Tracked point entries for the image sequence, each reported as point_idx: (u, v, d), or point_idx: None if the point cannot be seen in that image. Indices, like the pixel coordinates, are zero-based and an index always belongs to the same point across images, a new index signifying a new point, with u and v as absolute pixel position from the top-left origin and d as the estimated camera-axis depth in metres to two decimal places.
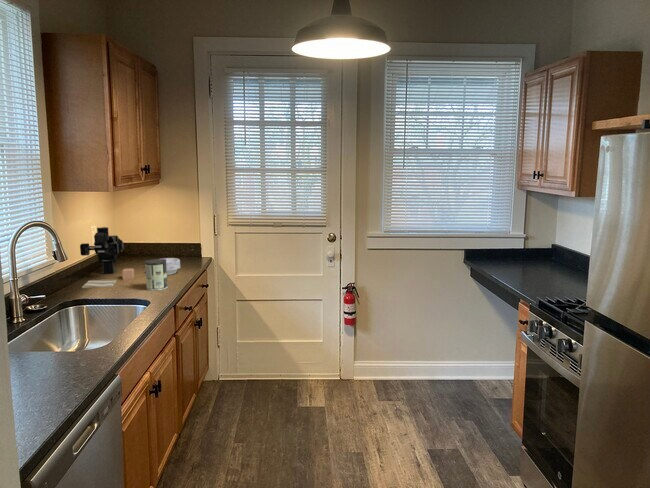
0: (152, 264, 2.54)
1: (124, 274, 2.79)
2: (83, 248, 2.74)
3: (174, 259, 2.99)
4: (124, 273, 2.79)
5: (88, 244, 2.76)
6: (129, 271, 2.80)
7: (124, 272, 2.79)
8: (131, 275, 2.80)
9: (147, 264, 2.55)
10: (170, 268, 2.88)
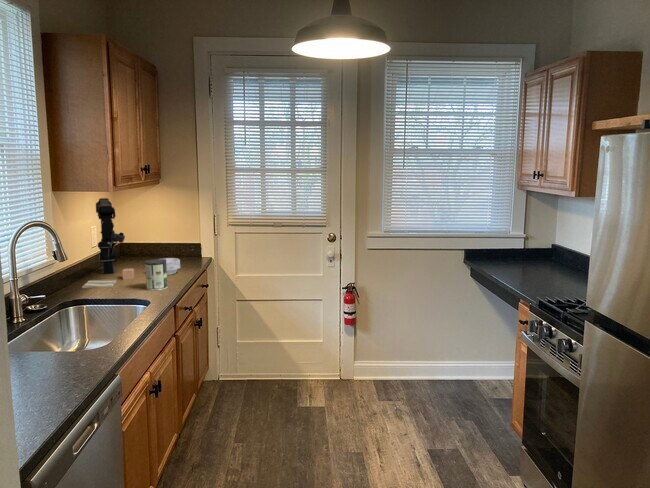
0: (152, 264, 2.54)
1: (124, 274, 2.79)
2: None
3: (174, 259, 2.99)
4: (124, 273, 2.79)
5: None
6: (129, 271, 2.80)
7: (124, 272, 2.79)
8: (131, 275, 2.80)
9: (147, 264, 2.55)
10: (170, 268, 2.88)
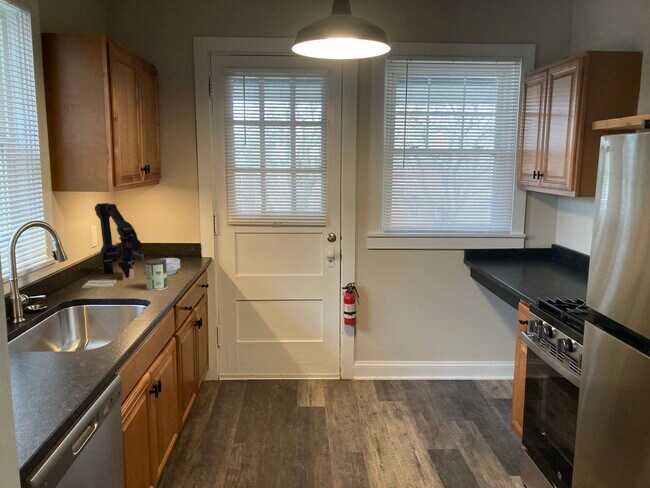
0: (152, 264, 2.54)
1: (124, 274, 2.79)
2: None
3: (174, 259, 2.99)
4: None
5: None
6: None
7: None
8: (131, 275, 2.80)
9: (147, 264, 2.55)
10: (170, 268, 2.88)
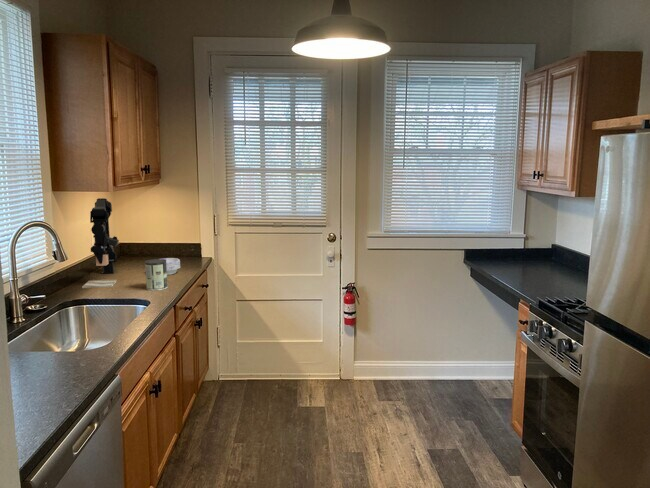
0: (152, 264, 2.54)
1: (97, 260, 2.65)
2: None
3: (174, 259, 2.99)
4: None
5: None
6: (103, 257, 2.66)
7: None
8: (105, 261, 2.66)
9: (147, 264, 2.55)
10: (170, 268, 2.88)
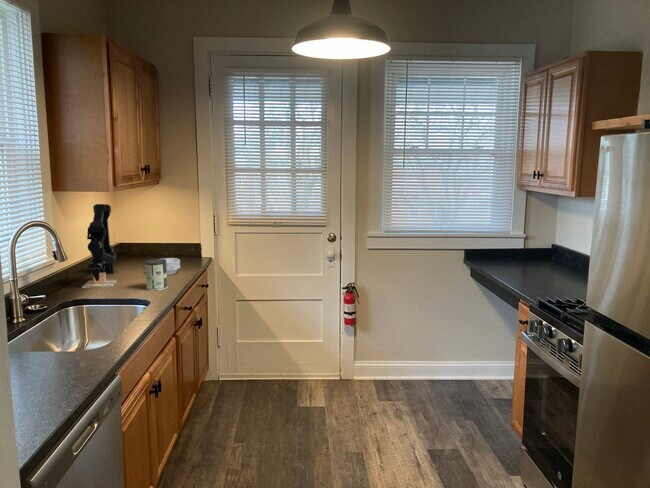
0: (152, 264, 2.54)
1: None
2: None
3: (174, 259, 2.99)
4: None
5: None
6: (100, 275, 2.66)
7: None
8: (102, 279, 2.66)
9: (147, 264, 2.55)
10: (170, 268, 2.88)
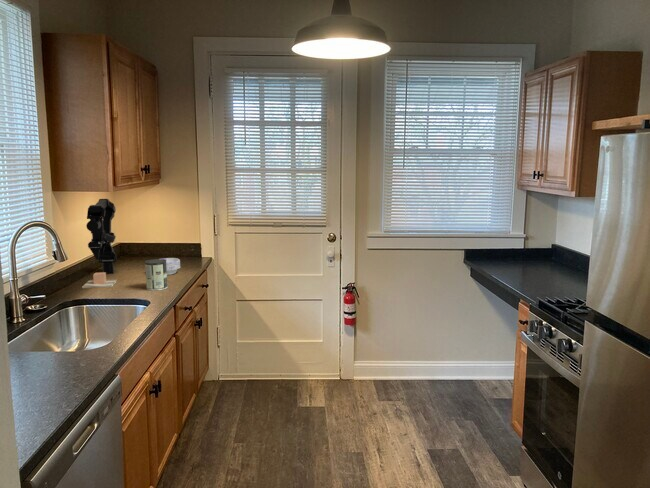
0: (152, 264, 2.54)
1: (95, 278, 2.65)
2: None
3: (174, 259, 2.99)
4: (95, 277, 2.65)
5: None
6: (100, 275, 2.66)
7: (95, 276, 2.65)
8: (102, 279, 2.66)
9: (147, 264, 2.55)
10: (170, 268, 2.88)
